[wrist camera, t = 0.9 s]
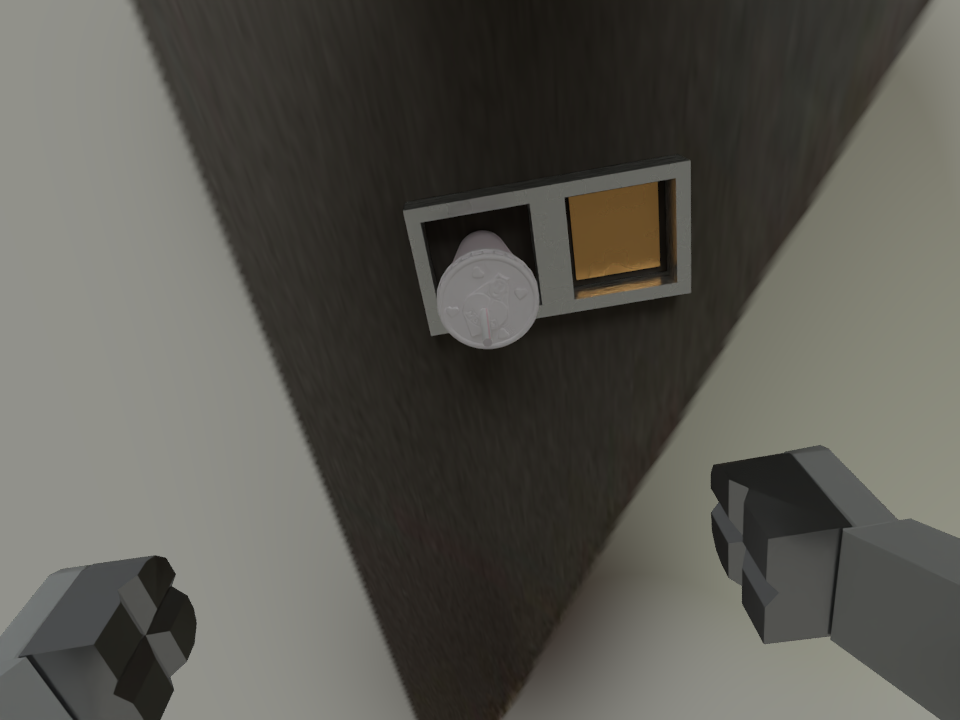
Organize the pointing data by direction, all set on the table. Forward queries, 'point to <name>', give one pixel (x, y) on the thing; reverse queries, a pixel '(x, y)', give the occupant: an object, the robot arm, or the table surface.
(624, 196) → the cup holder
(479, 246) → the smoothie
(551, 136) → the table surface
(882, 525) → the robot arm
